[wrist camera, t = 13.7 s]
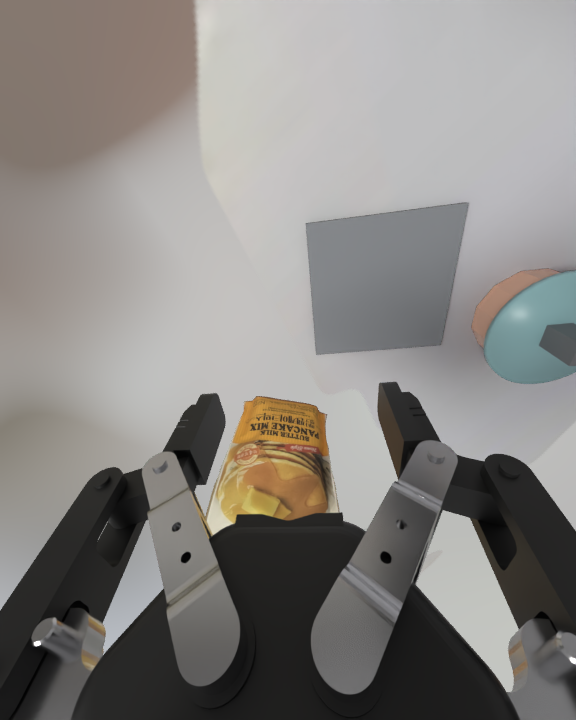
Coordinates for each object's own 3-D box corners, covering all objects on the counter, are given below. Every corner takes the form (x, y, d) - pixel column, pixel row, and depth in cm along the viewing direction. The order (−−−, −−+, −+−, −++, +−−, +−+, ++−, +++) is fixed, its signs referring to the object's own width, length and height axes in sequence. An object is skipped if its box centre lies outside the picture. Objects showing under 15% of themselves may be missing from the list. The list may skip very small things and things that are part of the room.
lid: (501, 277, 33) (537, 293, 28) (652, 261, 31) (719, 276, 26) (471, 383, 41) (495, 410, 36) (589, 375, 40) (631, 403, 35)
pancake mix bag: (328, 430, 57) (344, 604, 33) (236, 416, 56) (186, 584, 32) (336, 406, 53) (362, 582, 29) (238, 390, 52) (184, 558, 29)
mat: (305, 223, 36) (305, 224, 36) (465, 202, 34) (468, 202, 34) (316, 352, 47) (316, 354, 46) (438, 342, 45) (440, 345, 44)
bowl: (484, 274, 39) (511, 287, 34) (586, 264, 37) (630, 276, 32) (464, 353, 46) (484, 374, 40) (550, 347, 44) (582, 367, 39)
